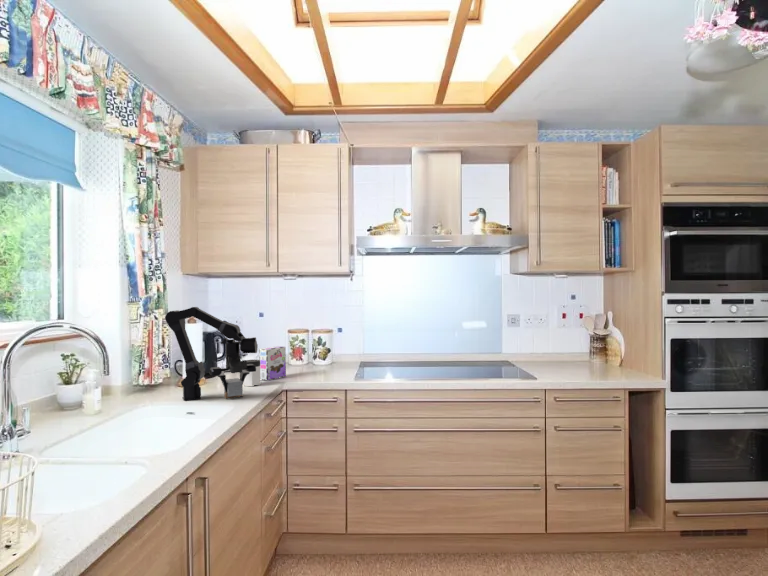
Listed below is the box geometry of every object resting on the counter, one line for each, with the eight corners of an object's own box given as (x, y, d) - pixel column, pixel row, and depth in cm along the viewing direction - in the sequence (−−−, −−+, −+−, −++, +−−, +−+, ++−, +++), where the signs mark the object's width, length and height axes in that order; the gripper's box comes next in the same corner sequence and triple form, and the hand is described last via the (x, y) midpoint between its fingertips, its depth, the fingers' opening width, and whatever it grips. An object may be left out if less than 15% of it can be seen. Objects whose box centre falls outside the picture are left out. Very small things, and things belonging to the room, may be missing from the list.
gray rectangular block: (228, 396, 194) (228, 382, 194) (224, 393, 201) (224, 379, 201) (242, 394, 197) (242, 380, 197) (238, 391, 204) (237, 378, 204)
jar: (264, 383, 228) (264, 359, 228) (256, 387, 220) (256, 362, 220) (248, 383, 230) (247, 359, 230) (239, 386, 222) (239, 361, 222)
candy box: (267, 381, 235) (266, 349, 235) (259, 380, 238) (258, 348, 238) (286, 376, 246) (285, 346, 246) (278, 375, 249) (278, 345, 249)
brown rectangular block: (225, 398, 196) (225, 393, 196) (224, 397, 198) (224, 392, 198) (242, 396, 200) (242, 391, 200) (241, 395, 202) (240, 390, 202)
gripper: (214, 357, 188) (214, 395, 187) (259, 353, 197) (259, 389, 197) (208, 354, 197) (209, 390, 197) (252, 351, 207) (252, 385, 207)
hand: (233, 389), depth 199 cm, fingers closed on gray rectangular block, 6 cm apart
